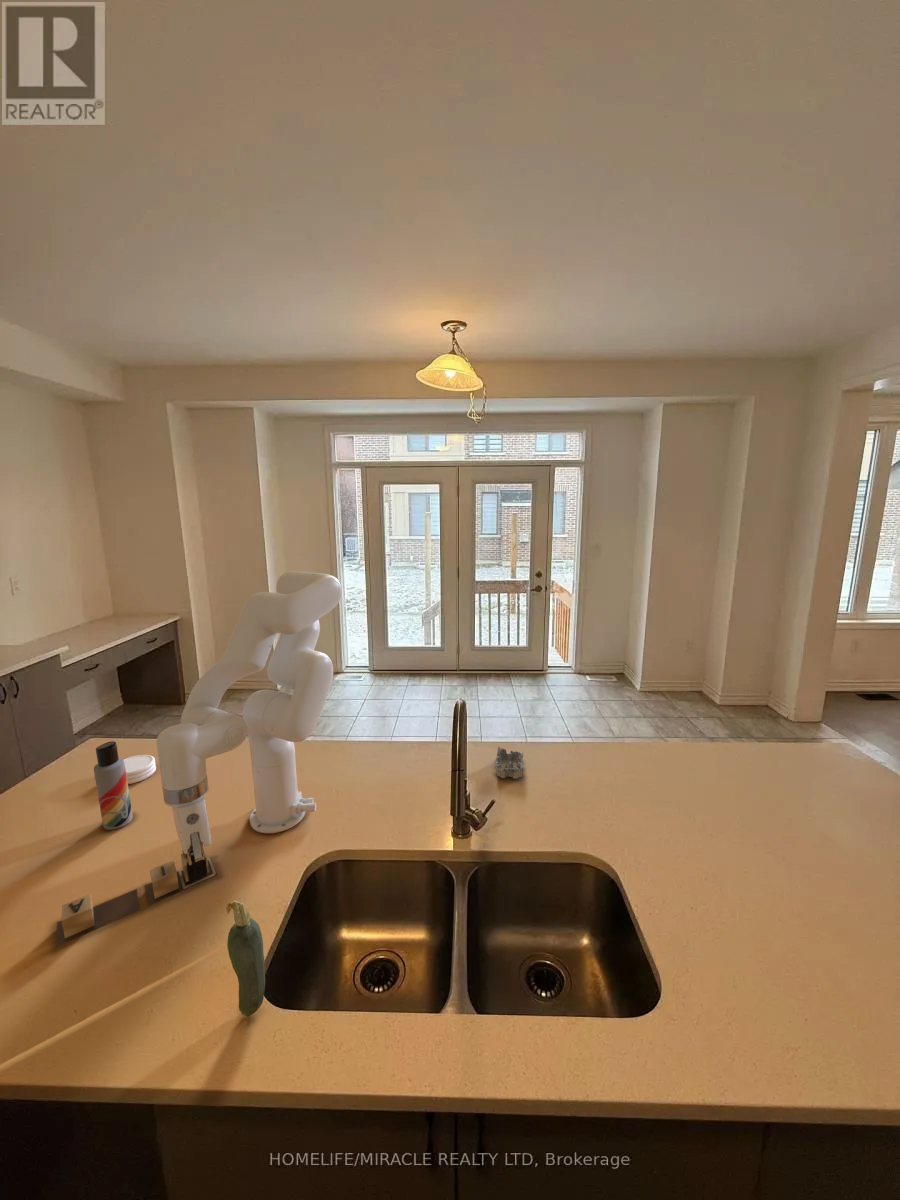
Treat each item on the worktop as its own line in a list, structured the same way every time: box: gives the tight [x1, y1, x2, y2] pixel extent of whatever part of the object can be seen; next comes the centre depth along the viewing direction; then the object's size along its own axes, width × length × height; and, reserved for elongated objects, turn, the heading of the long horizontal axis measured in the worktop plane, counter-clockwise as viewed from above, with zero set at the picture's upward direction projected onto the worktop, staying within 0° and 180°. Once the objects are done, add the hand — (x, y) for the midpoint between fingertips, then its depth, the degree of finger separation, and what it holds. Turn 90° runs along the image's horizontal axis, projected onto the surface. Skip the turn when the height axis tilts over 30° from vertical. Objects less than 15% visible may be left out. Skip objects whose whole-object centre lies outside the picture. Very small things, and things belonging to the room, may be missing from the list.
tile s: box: [180, 846, 209, 882], centre depth 92 cm, size 4×4×4 cm
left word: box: [55, 888, 141, 948], centre depth 83 cm, size 12×6×4 cm, turn 128°
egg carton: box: [495, 746, 524, 780], centre depth 130 cm, size 11×8×4 cm
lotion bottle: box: [93, 740, 133, 831], centre depth 106 cm, size 6×6×20 cm
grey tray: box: [144, 857, 219, 907], centre depth 91 cm, size 12×6×4 cm, turn 128°
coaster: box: [123, 754, 157, 785], centre depth 127 cm, size 10×10×4 cm
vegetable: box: [225, 899, 266, 1020], centre depth 65 cm, size 4×4×20 cm
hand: (195, 869), depth 92 cm, fingers closed on tile s, 4 cm apart
